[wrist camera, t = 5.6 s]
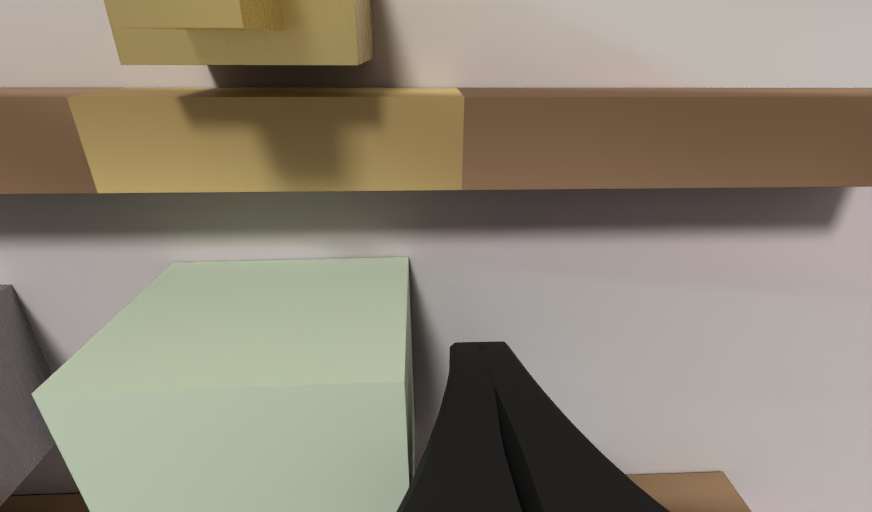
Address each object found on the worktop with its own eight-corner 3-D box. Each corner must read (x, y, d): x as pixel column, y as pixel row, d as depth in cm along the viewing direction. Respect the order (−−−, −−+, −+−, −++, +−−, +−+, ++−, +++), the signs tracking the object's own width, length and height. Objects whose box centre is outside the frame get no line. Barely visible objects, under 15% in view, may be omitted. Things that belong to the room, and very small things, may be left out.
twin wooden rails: (709, 506, 14) (741, 556, 13) (-99, 536, 13) (-159, 594, 12) (871, 87, 9) (954, 97, 7) (-446, 87, 8) (-623, 97, 7)
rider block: (414, 428, 12) (414, 594, 8) (222, 435, 12) (137, 607, 8) (408, 256, 10) (404, 381, 6) (173, 262, 10) (30, 393, 6)
